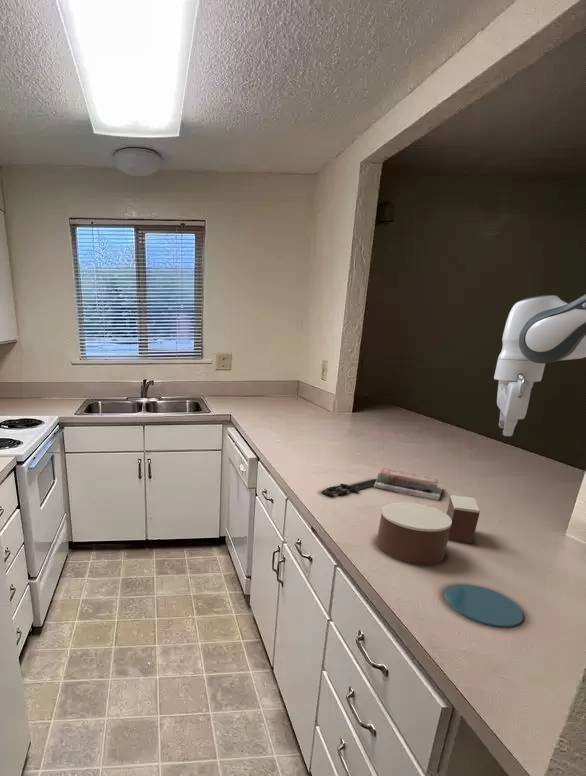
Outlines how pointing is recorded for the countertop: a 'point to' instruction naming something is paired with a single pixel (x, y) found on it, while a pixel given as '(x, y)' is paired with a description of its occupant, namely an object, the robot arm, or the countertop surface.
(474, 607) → the plate
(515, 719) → the countertop surface
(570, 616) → the countertop surface
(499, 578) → the countertop surface
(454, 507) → the cake slice
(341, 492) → the knife
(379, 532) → the cake
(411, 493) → the packaged product
